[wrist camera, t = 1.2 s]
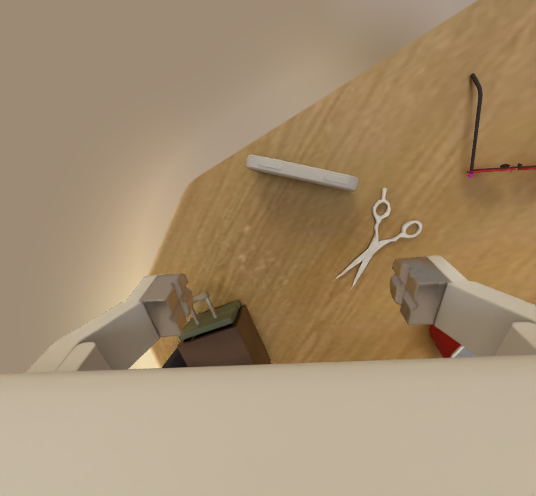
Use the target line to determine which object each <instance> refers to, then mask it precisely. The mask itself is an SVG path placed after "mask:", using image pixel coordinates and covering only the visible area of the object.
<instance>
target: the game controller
mask: <svg viewBox="0 0 536 496" xmlns="http://www.w3.org/2000/svg"><path fill="white" fill-rule="evenodd" d="M246 168H249V169H252V170H255V171H259V172H263V173H268V174H272V175H277V176H282V177H287V178H292V179H296V180H301V181H305V182H310V183H314V184H319V185H323V186H327V187H332V188H336V189H341V190H347V191H356V189H357V186H358V182H359V179H358V178H356V177H353V176H350V175H346V174H342V173H338V172H333V171H329V170H324V169H319V168H315V167H310V166H306V165H301V164H296V163H292V162H287V161H283V160H278V159H273V158H269V157H264V156H258V155H248V157H247V162H246Z"/></svg>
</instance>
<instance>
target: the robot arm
mask: <svg viewBox="0 0 536 496" xmlns="http://www.w3.org/2000/svg"><path fill="white" fill-rule="evenodd" d="M392 269H393V270H394V272H395V274H394V275H393V276H392V277H391V278H390V292H391V295H392V298H393V300H394V301H395V302H396V303H397V304H399V305H401V309H400V312H401V313H402V315H403V317H404V318H405V320H406V322H407V323H408V325H416V324H434V326H436V327H437V328H438V329H440V330H441V331H443V332H444V333H446V334H447V335H448V336H450V337H451V338H453V339H454V340H455V341H457V342H458V343H460V344H461V345H462V346H464V347H465V348H467V349H468V350H469V351H471V352H472V353H474V354H475V355H476V356H478V357H455V358H427V359H400V360H372V361H345V362H317V363H289V364H261V365H234V366H208V367H182V368H154V369H128V368H130V367H131V366H132V365H133V364H134V363H135V362H136V361H137V360H138V359H139V358H140V357H141V356H142V355H143V354H144V353H145V352H146V351H147V350H148V349H149V348H150V347H151V346H152V345H153V344H154V343H156V342H157V341H158V340H159V339H160V337H169V336H181V335H182V333H183V330H184V328H185V325H186V323H187V321H186V318H185V317H187V316H188V315H189V314H190V313H191V311H192V308H193V295H192V292H191V290H190V289H188V288H187V287H186V285H187V283H188V280H187V278H186V275H184V274H165V275H149V276H146V277H144V278H143V280H142V281H141V282H140V283H139V285H138V286H137V287H136V289H135V290H134V291H133V293H132V294H131V295H130V296H129V298H128V299H127V301H126V302H125V303H120V304H118V305H116V306H115V307H113V308H111V309H109V310H108V311H106V312H104V313H103V314H101V315H99V316H98V317H96V318H94V319H93V320H91V321H89V322H87V323H86V324H84V325H83V326H81V327H79V328H78V329H76V330H74V331H72V332H71V333H69V334H67V335H65V336H64V337H62V338H60V339H59V340H57V341H56V342H54V343H52V344H51V346H50V347H49V348H48V349H47V350H46V351H45V352H44V353H43V354H42V355H41V356H40V357H39V358H38V359H37V360H36V362H35V363H34V364H33V365H32V366H31V367H30V368H29V369H28V370H27V371H26V372H25V373H17V374H0V496H536V305H534V304H531V303H529V302H526V301H523V300H521V299H518V298H516V297H513V296H511V295H508V294H506V293H503V292H500V291H498V290H495V289H493V288H490V287H488V286H485V285H483V284H480V283H477V282H475V281H470V282H469V281H468V280H467V279H466V278H465V277H464V276H463V275H462V274H461V273H460V272H458V271H457V270H456V269H455V268H454V267H453V266H452V265H451V264H450V263H449V262H448V261H447V260H445V259H444V258H443V257H442V256H440V255H433V256H424V257H415V258H403V259H395V261H394V262H393V267H392Z"/></svg>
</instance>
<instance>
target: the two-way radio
mask: <svg viewBox="0 0 536 496" xmlns="http://www.w3.org/2000/svg"><path fill="white" fill-rule="evenodd" d="M182 367H188V366H187V364H186V363H185V361H184V359H183V357H182V355H181V353H180V351H179V349H178V348H177V349H176V350H175V351H174V352H173V354H172V355H171V356H170V358H169V359H168V360H167V361H166V363H165V364H164V365H163V367H162V368H182Z"/></svg>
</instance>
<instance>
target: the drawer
mask: <svg viewBox="0 0 536 496" xmlns="http://www.w3.org/2000/svg"><path fill="white" fill-rule="evenodd" d="M203 299H205V300H206V302H207V304H208V306H209V308H210V311H208V312H205V313H202V314H199V315H196V313H195V311H194V309H193V308H192V311H191V314H192V316H193V317H192V318H191V319H190V321H189V322H188V323H187V325H186V326H185V328H184V330H183V333H182V335H181V336H178V337H179V339H180V340H184V339H187V338H190V337H192V338H191V340H193V339H196V338H199V337H202V336H205V335H208V334H211V333H214V332H217V331H220V330H223V329H226V328H229V327H232V326H234V323H235V321H236V319H237V316H238V314H239V313H238V310H239V308H240V306H241V305H240V302H239V301H236V302H233V303H230V304H227V305H224V306H222V307H219V308H216V309H214V307H213V305H212V303H211V301H210V299H209V293H208V292H204V293H201V294H199V295H196V296H193V303H195V302H198V301H200V300H203Z"/></svg>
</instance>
